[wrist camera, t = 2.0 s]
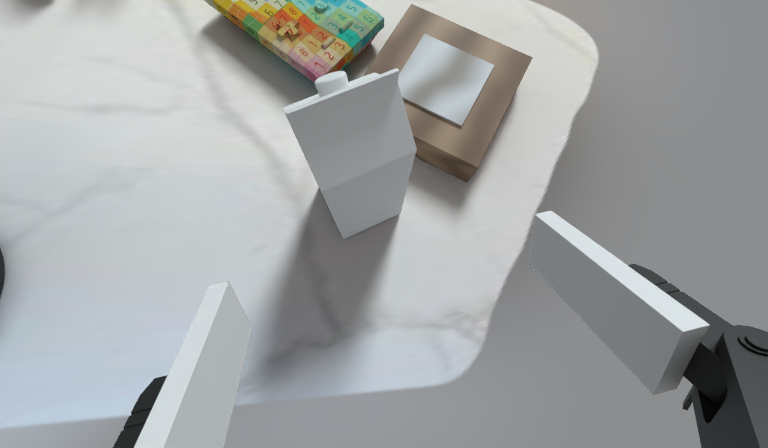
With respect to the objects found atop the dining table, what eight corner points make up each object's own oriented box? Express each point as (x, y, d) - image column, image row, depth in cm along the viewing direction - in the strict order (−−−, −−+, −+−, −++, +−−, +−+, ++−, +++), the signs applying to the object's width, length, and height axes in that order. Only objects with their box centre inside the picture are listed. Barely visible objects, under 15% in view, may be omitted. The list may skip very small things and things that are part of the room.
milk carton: (400, 214, 36) (426, 117, 18) (343, 240, 36) (309, 165, 17) (374, 162, 38) (373, 24, 20) (318, 185, 37) (262, 64, 19)
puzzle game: (318, 74, 36) (194, -17, 39) (324, 101, 40) (213, 18, 43) (384, 11, 38) (263, -70, 41) (383, 43, 43) (274, -32, 46)
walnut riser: (348, 123, 39) (345, 101, 35) (408, 31, 43) (411, 1, 39) (467, 181, 38) (478, 166, 34) (517, 81, 42) (533, 55, 37)
